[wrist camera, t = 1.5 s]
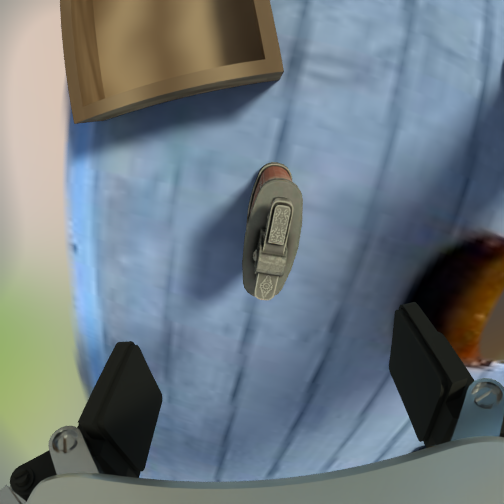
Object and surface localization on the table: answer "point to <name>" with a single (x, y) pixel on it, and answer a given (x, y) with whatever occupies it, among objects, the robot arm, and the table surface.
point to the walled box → (162, 51)
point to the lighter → (271, 231)
